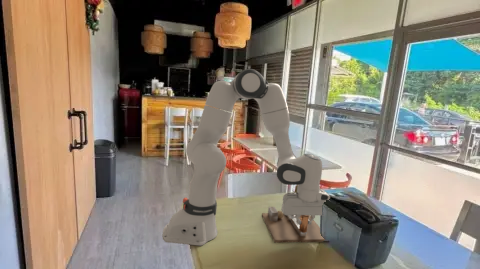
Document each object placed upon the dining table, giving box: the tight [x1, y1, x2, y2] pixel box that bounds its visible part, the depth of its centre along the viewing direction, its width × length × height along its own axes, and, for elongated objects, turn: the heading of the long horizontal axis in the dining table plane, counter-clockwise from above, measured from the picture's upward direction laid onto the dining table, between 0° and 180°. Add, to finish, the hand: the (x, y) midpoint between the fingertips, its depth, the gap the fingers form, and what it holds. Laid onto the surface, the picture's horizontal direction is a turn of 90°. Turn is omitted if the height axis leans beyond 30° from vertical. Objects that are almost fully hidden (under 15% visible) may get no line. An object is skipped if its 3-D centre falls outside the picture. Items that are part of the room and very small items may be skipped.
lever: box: [286, 215, 309, 236], centre depth 121 cm, size 4×22×9 cm, turn 9°
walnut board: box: [261, 206, 325, 244], centre depth 120 cm, size 24×23×6 cm
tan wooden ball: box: [277, 210, 283, 219], centre depth 126 cm, size 4×4×4 cm
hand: (303, 223), depth 112 cm, fingers closed on lever, 3 cm apart
